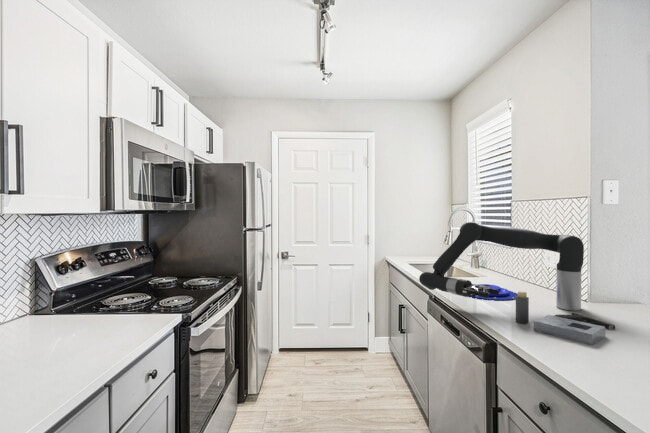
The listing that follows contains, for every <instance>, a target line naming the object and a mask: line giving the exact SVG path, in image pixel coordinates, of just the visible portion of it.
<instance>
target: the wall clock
mask: <svg viewBox="0 0 650 433" xmlns="http://www.w3.org/2000/svg"><path fill="white" fill-rule="evenodd" d="M472 285H473V286H474V285H476V283H475V284H473V283H472ZM477 285H482V286H488V287H492V289H496V290H499V295H494V294H489V297H488V298H485V297H480V296H479V297H477V296H475V297H473V296H469V297H468V298H470V297H472V298H471V299H475V298H477V300H482V299H483V300H484V301H491V300H494V301H495V302H504V301H505V302H507V301H509V302H510V301H516V296H518V292H516V291H512V290H509V289H507V288H504V287H501V286H499V285H495V284H490V283H489V284H486V283H484V284H483V283H482V284H481V283H479V284H477ZM487 291H488V289H487ZM483 300H482V301H483ZM494 301H493V302H494Z"/></svg>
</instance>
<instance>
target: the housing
mask: <svg viewBox="0 0 650 433" xmlns="http://www.w3.org/2000/svg"><path fill="white" fill-rule="evenodd" d="M533 331H535V332H538V333H541V334H542V333H543V334H546V335H550V336H555V337H559V338H563V339H565V340H571V341H574V342H577V343H578V342H579V343H582V344H586V345H591V346H593V345H595V344H596V343H598V342H599V341H600V340H602V339H604V338H605V337H606V329H605V327H604V326H599V325H594V324H590V323H585V322H580V321H575V320H571V319H566V318H561V317H556V316H555V315H552V314H547V315H545V316H542V317H540V318H538V319H535V320H533Z"/></svg>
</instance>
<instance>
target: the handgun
mask: <svg viewBox="0 0 650 433" xmlns="http://www.w3.org/2000/svg"><path fill="white" fill-rule="evenodd" d="M554 316H556V317H561V318H566V319H571V320H575V321H580V322H585V323H590V324H594V325H599V326H604V327H605V330H609V329H611V330H615V328H616V325H615V323H612V322H608V321H605V320H601V319H596V318H593V317H591V316H588V315H585V314H581V313H580V312H579V313H578V312H572V313H571V314H554Z"/></svg>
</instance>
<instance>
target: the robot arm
mask: <svg viewBox="0 0 650 433" xmlns="http://www.w3.org/2000/svg"><path fill="white" fill-rule="evenodd" d="M476 241H478V242H488V243H489V242H490V243H493V244H497V245H501V246H504V247H505V246H506V247H509V248H514V249H515V248H516V249H522V250H523V249H524V250H545V251H550V252H555V253H559V260H558V262H557V263H556V298H555V299H556V308H558V309H561V310H565V311H575V312H576V311H581V310H582V268H583V266H584V265H583V264H584V256H585V255H584V253H585V252H584V251H585V248H584V243H583V242H584V241H583V240H582V239H581V238H580V237H578V236H576V235H571V234H547V233H541V232H537V231H535V230H532V229H531V230H529V229H524V228H517V227H509V226H508V227H507V226H506V227H505V226H487V225H481V224H479V223H477V222H474V221H468V222H465V223H463V224H462V225H461V226H460V228H459V234H458V236H457V237H456V239H455V240H454V241H453V242H452V244H451V245H449V247H448V248H447V249H446V250H445V251H444V252H442V254H441V255H439V257H438V258H437V260H435V262H434V263H433V265H432V269H433V270H434V271H433V272H430V271H425V272H422V273H421V274H420V275H419V278H418V280H419V283H420V284H421V285H422V287H423V286H424V287H426V288H427V289H429V290H431V291H433V290H436V289H437V290H440V292H445V293H450V294H452V295H457V296H460V297H463V298H464V297H465V298H470V297H469V296H473V297H475V296H477V297H479V296H480V297H485V298H488V297H489V294H494V295H499V290H496V289H492V287H488V286H482V285H478V284H475V285H472V284H473V283H472V281H471V280H469V279H463V278H457V277H449V276H446V273H447V272H448V271H449V270H450V269H451V267H452V266H453V265H454V263H455V262H457V260H458V259H459V257H460V256H461V255H462V254H463V253H464V251H466V249H467V248H468V247H469V246H471V245H472V244H473V243H474V242H476ZM487 289H488V291H487Z"/></svg>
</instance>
